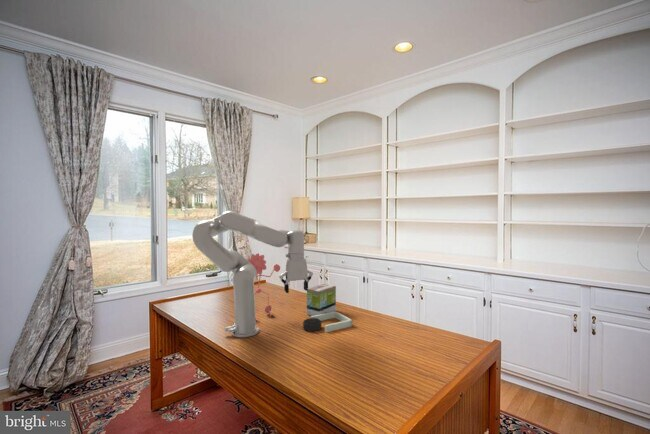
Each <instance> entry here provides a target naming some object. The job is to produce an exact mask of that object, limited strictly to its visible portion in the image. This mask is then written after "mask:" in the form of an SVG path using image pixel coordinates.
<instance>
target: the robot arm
mask: <svg viewBox="0 0 650 434" xmlns="http://www.w3.org/2000/svg"><path fill="white" fill-rule="evenodd" d="M228 231H231V232H232V231H233V232H234V233H238V234H241V235H244V236H247V237H249V238H251V239H253V240H257V241H259V242H261V243H263V244H265V245H269V246H272V247H275V248H282V247H284V246H286V245H287V246H288V252H287V254H285V258H287V259H286V264H285V271H284V272H282V273H281V274H279V275H278V278H279V280H280V282H282V283H283V286H284V287H283V288H284V292H285V293H287V294H289V293H290V286H289V283H290V282H292V281H293V282H294V281H303V280H304V281H303V290H304V291H306V292H307V289H308V288H309V282H310V281H311V279H312V277H313V275H314V273H313V271H310V270H309V269H308V265H307V258H305V233H304V231H303V230H284V229H279V230H277V229H274V228H271V227H269V226H266V225H264V224H262V223H261V222H260V221H258V220H257V219H254V218H251V217H248V216H246V215H242V214H240V213H238V212H237V211H235V210H226V211H224V212H222V213H221V214H220V215H219V216H216V217H214V218H212V219H206V220H201V221H200V222H197V224H195V226H194V228H193V230H192V241H193V243H194V245H195V247H196V248H197V249H198V250H199V251H200V252H201V254H203V255H204V256H205V257H206V258H208V260H209V261H211V262H212V263H213V264H214V265H215V266H216V267H217V268H218V269H220V270H221V271H222V272H225V273H229V272H232V274H233V276H232V287H233V297H234V298H233V299H234V300H233V302H234V304H233V305H234V323H233V325H231V326H225V327H224V332H228V333H231V335H232V336H233V337H236V338H248V337H253V336H255V335H257V334H258V333H259V332H260V328H259V327H258V326H256V321H255V317H256V299H255V297H256V296H255V295H256V294H255V293H256V292H255V280H256V278H257V277H256V276H258V275H257V271H256V268H255V267H254V266H253V265H252V264H251V263H250V262H249V261H248V258H247V259H246V258H245V257H244V256H243V254H241V253H240V252H238V251H237V250H235V249H234V250H233V249H229V250H228V249H227V248H226V247H224V246H223V245H222V244H221V243H220V242H218V241H217V240H215V239H214V238H213V237H216V236H219V235H221V234H223V233H225V232H228ZM284 277H285V279H284Z"/></svg>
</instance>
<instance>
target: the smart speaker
mask: <svg viewBox="0 0 650 434" xmlns="http://www.w3.org/2000/svg"><path fill="white" fill-rule="evenodd" d="M302 326H303V330H305V331H307V332H316V331H319V330H321V328H322V321H320V320H319V319H317V318H311V317H310V318H309V317H308V318H306V319H304V320H303V323H302Z"/></svg>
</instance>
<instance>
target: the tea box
mask: <svg viewBox="0 0 650 434" xmlns="http://www.w3.org/2000/svg"><path fill="white" fill-rule="evenodd" d="M336 287H337V286H335V285H332V284H325V283H321V284H319V285H315V286H311V287H308V288H307V291H306V315H308V316H310V317H311V316H315V315H320V314H325V313H330V312H335V311H336V310H337V307H336V306H337V304H336V302H337V299H336V298H337V295H336V294H337V293H336V292H337V288H336Z"/></svg>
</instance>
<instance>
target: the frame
mask: <svg viewBox="0 0 650 434" xmlns="http://www.w3.org/2000/svg"><path fill="white" fill-rule="evenodd" d="M310 318H317V319H319V320H320V321H321V322H322V321H328V320H331V319H332V320H333V319H337V320H338V322H334V323H328V324H325V325H324V332H325V333H328V332H333V331H336V330H341V329H342V330H343V329H346V328H351V327H353V319H351V318H349V317H347V316H346V315H345V314H342V313H340V312H338V311H334V312H330V313H325V314H320V315H315V316H311V315H310Z"/></svg>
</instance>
